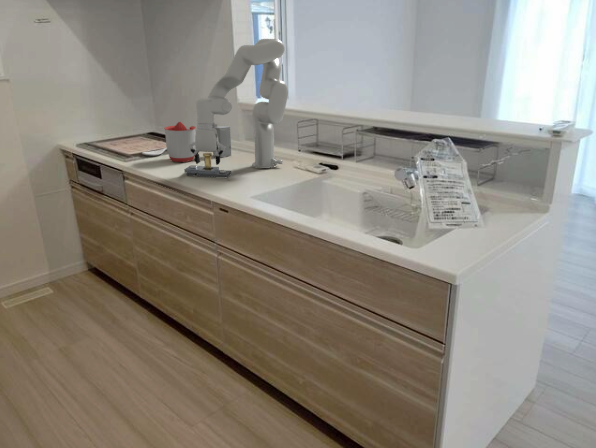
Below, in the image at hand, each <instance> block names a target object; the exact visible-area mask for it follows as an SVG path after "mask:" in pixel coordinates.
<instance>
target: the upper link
mask: <svg viewBox="0 0 596 448" xmlns="http://www.w3.org/2000/svg"><path fill="white" fill-rule="evenodd" d="M219 167H220V166H211V170H205V165H197V164H196V165H194V164H192V165H188V166H187V167H186V168H184V172H183V173H186V176H187V177H190V176H191V177H197V173H201V174H215V173H216V172H217V171H218V170H220V168H219Z"/></svg>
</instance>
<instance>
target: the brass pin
mask: <svg viewBox="0 0 596 448" xmlns="http://www.w3.org/2000/svg"><path fill="white" fill-rule="evenodd" d="M212 153H213V152H203V153H202V156H203V157H204V158H203V159H204V166H205V170H211V167H212V156H213V154H212Z"/></svg>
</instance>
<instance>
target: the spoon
mask: <svg viewBox="0 0 596 448" xmlns="http://www.w3.org/2000/svg"><path fill="white" fill-rule="evenodd" d="M165 151H167V147H166V146H165V147H164V148H160V149H158V150H157V149H156V150H152V151H142V152H141V154H142V155H145V156H149V157H155V156H157V157H158V156H159V155H161V154H163V153H164V152H165Z"/></svg>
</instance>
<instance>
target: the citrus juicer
mask: <svg viewBox="0 0 596 448" xmlns="http://www.w3.org/2000/svg"><path fill="white" fill-rule="evenodd" d="M164 134H165V145H166V146H165V148H166V147H167V149H166V151H167V155H168V157H169V159H170V161H171V162H176V163H177V162H178V163H187V162H191V161H193V160H195V155H194V154H193V153H192V152H191V150H190V148H189V146H188V145H190V144H192V143H194V142H195V136H196V126H193V125H191V126H190V127H189V129H187V127H186V126H185V125H184V123H183V122H181V121H178V122H177V123H176V124H175V125H169V126H165V127H164ZM193 148H194V149H195V145H194V146H193ZM195 150H196V149H195Z"/></svg>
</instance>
